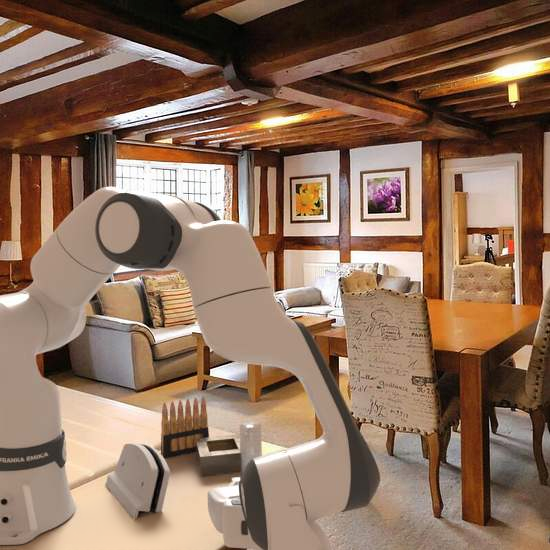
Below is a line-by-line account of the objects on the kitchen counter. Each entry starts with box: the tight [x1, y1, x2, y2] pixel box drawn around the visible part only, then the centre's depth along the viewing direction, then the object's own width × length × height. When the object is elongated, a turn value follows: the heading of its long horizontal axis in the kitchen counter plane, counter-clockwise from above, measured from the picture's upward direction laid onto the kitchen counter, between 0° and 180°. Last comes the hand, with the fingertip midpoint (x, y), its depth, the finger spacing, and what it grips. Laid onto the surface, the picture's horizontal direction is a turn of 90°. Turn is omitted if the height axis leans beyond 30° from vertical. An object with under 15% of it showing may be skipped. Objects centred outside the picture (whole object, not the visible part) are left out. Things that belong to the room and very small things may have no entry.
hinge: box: [105, 442, 171, 520], centre depth 106 cm, size 17×5×10 cm, turn 33°
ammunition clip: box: [160, 396, 210, 460], centre depth 125 cm, size 11×2×12 cm, turn 117°
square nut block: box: [195, 433, 241, 477], centre depth 120 cm, size 10×10×4 cm
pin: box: [239, 421, 263, 477], centre depth 108 cm, size 4×4×12 cm
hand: (262, 478), depth 98 cm, fingers open, 8 cm apart
